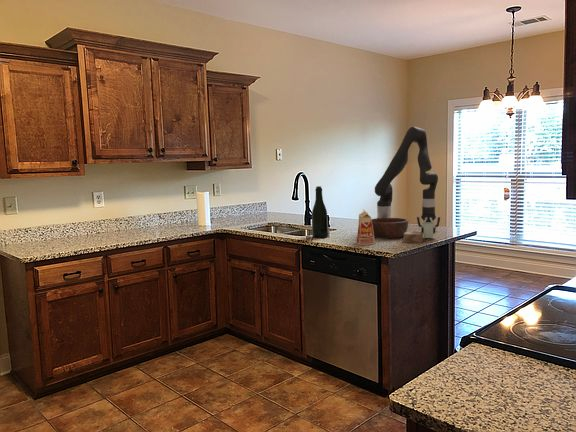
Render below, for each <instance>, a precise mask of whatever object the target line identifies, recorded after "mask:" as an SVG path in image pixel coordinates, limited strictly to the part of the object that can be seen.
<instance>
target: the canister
mask: <svg viewBox="0 0 576 432" xmlns="http://www.w3.org/2000/svg"><path fill="white" fill-rule="evenodd" d="M422 224H424V234H423V238H424V237H425V238H434V234H433V222H422Z"/></svg>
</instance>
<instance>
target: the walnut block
mask: <svg viewBox="0 0 576 432" xmlns="http://www.w3.org/2000/svg"><path fill="white" fill-rule="evenodd" d="M423 241H424V234H423V232H421V231H407V232H405V233H404V236H403V243H422V242H423Z"/></svg>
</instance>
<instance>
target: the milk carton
mask: <svg viewBox="0 0 576 432" xmlns="http://www.w3.org/2000/svg"><path fill="white" fill-rule="evenodd" d="M372 219H373V218H372V216H370V215H369V213H368V212H367V211H366V210H365V209H364V208H363V210H362V211H361V213H359V214H358V227H357V233H356V234H357V235H356V241H355V243H356V244H357V245H359V246H360V245H362V246H363V245H364V246H366V245H367V246H368V245H375V237H374V232H373V225H372Z"/></svg>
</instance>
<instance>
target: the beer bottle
mask: <svg viewBox="0 0 576 432" xmlns="http://www.w3.org/2000/svg"><path fill="white" fill-rule="evenodd" d="M314 201H315V202H314V205H313V207H312V211H311V236H312V237H313V238H315V239H325V238H328V236H329V221H328V211H327V208H326V205H325V202H324V197H323V188H322V186H321V185H320V186H319V185H317V186H315V200H314Z"/></svg>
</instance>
